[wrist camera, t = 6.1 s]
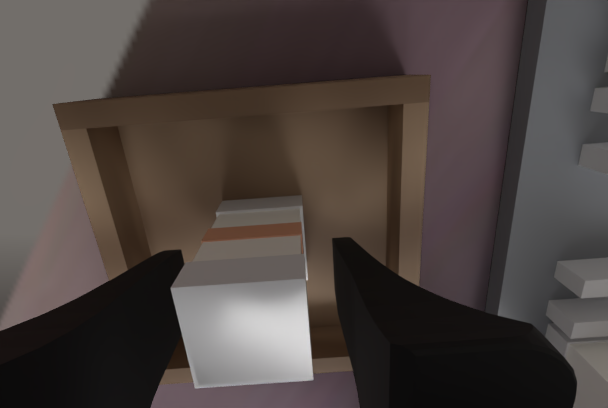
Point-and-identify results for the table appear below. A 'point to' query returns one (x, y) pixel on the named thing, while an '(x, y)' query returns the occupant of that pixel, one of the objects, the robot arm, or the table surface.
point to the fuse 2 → (607, 67)
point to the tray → (258, 177)
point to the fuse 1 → (584, 365)
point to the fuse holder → (556, 176)
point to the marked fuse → (248, 296)
